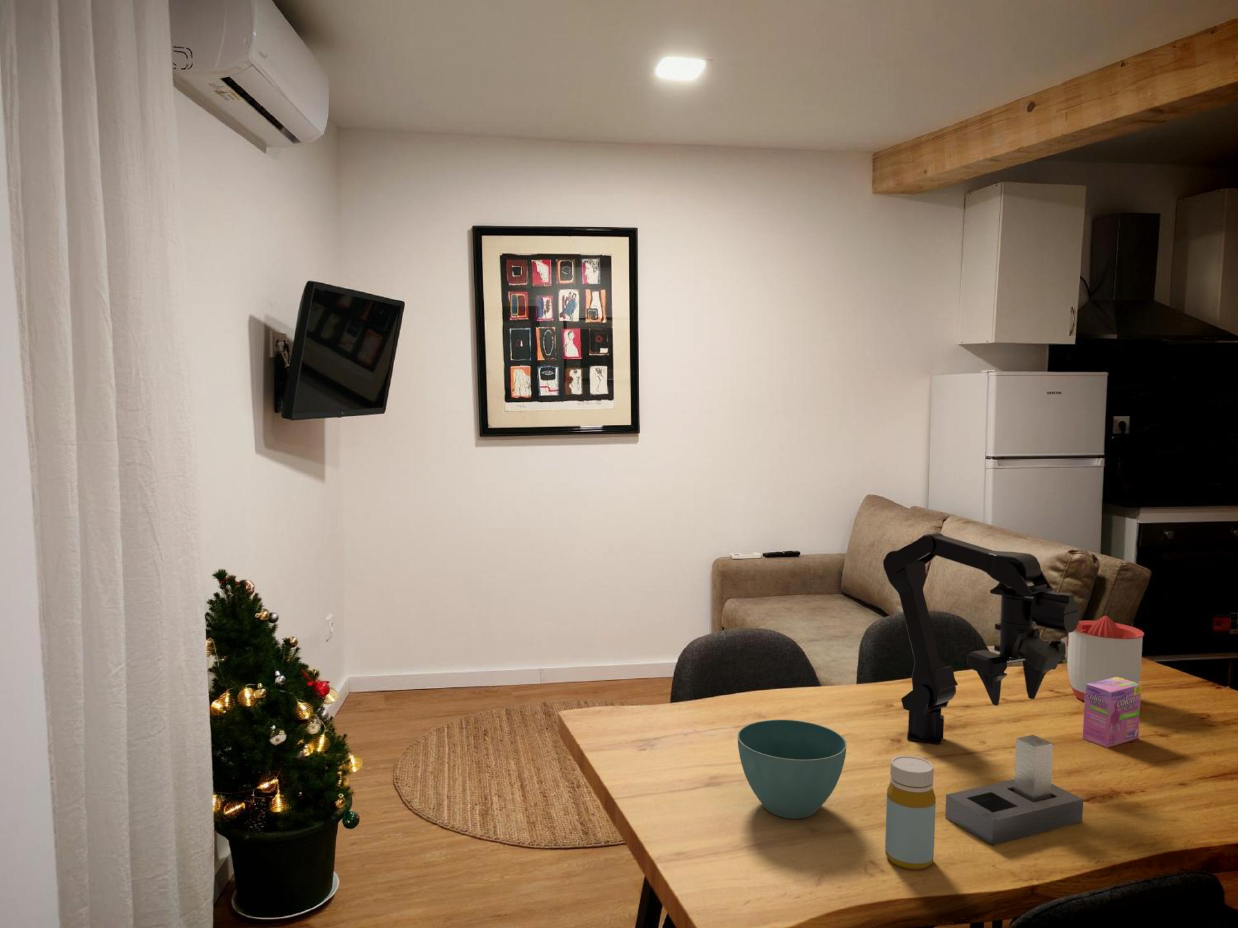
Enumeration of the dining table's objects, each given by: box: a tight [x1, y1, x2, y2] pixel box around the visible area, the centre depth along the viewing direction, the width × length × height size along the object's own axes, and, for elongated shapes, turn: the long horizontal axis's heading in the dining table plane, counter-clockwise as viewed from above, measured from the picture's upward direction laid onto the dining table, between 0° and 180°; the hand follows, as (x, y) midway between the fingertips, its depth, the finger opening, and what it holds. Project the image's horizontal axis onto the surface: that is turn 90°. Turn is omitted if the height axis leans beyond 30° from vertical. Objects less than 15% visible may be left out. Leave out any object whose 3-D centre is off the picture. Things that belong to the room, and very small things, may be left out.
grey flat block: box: [944, 778, 1084, 847], centre depth 145 cm, size 20×10×4 cm, turn 113°
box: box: [1082, 677, 1143, 749], centre depth 180 cm, size 10×6×12 cm, turn 117°
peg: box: [1013, 734, 1054, 803], centre depth 147 cm, size 4×4×13 cm
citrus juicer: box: [1060, 615, 1145, 702], centre depth 205 cm, size 16×17×20 cm
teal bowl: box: [737, 719, 848, 820], centre depth 149 cm, size 18×18×12 cm
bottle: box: [884, 755, 937, 871], centre depth 132 cm, size 7×7×15 cm
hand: (1013, 701), depth 165 cm, fingers open, 9 cm apart
